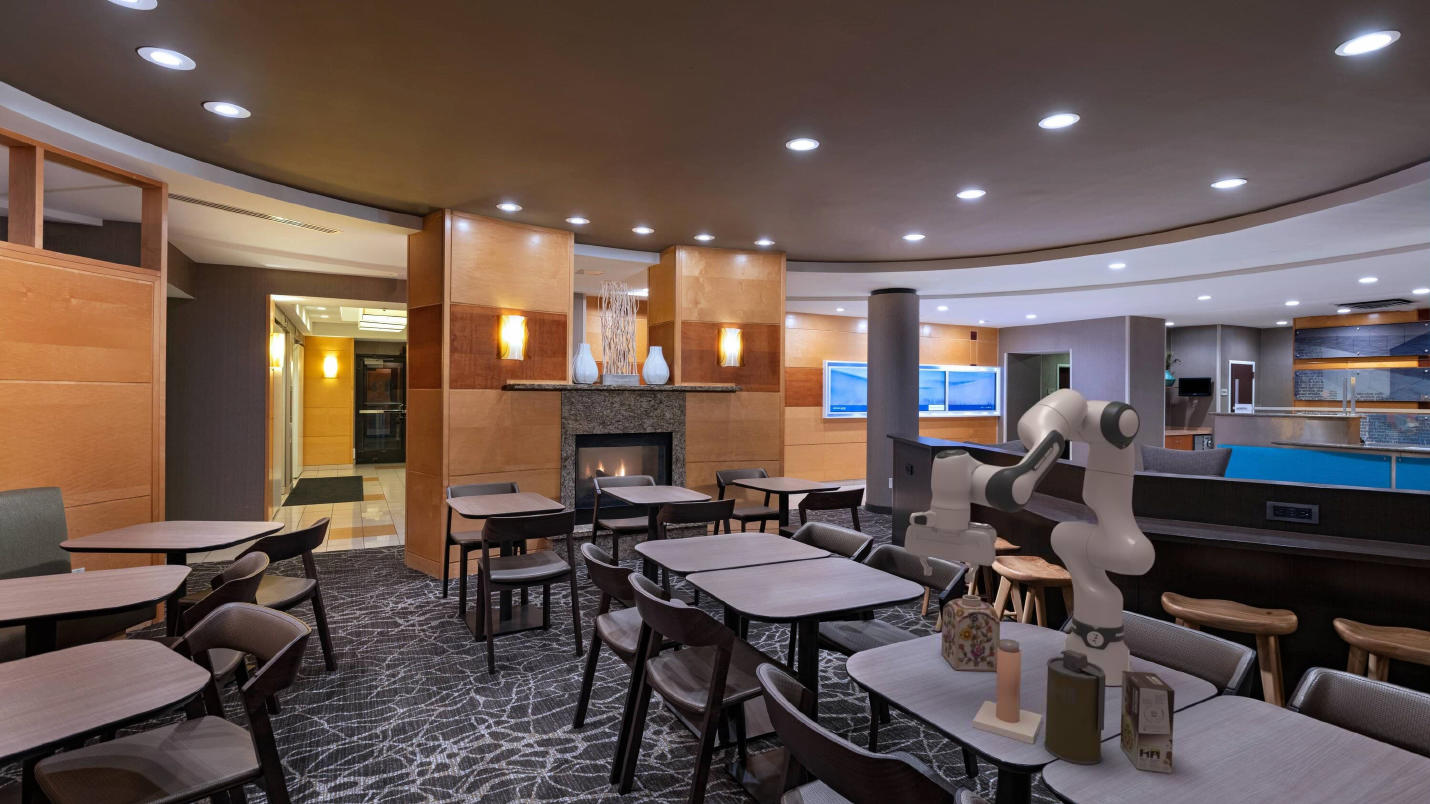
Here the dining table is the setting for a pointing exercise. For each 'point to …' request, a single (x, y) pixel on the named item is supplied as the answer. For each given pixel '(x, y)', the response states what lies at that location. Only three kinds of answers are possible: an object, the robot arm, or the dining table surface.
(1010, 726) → the board
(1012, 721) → the shaker
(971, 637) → the decorative jar
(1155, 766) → the coffee box
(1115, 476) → the robot arm
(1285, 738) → the dining table surface
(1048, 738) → the canister
